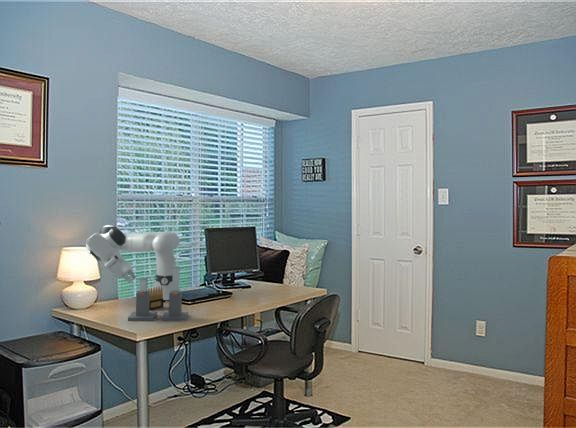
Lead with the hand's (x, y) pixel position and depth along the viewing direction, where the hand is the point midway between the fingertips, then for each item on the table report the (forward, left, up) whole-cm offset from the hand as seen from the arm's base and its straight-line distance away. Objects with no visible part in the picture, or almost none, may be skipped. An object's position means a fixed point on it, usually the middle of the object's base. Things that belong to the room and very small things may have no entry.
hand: (133, 279), depth 250 cm
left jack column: (-1, +5, -16) cm, 17 cm away
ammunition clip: (-21, +8, -20) cm, 29 cm away
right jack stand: (-1, +21, -19) cm, 28 cm away
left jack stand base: (-1, +5, -19) cm, 20 cm away
